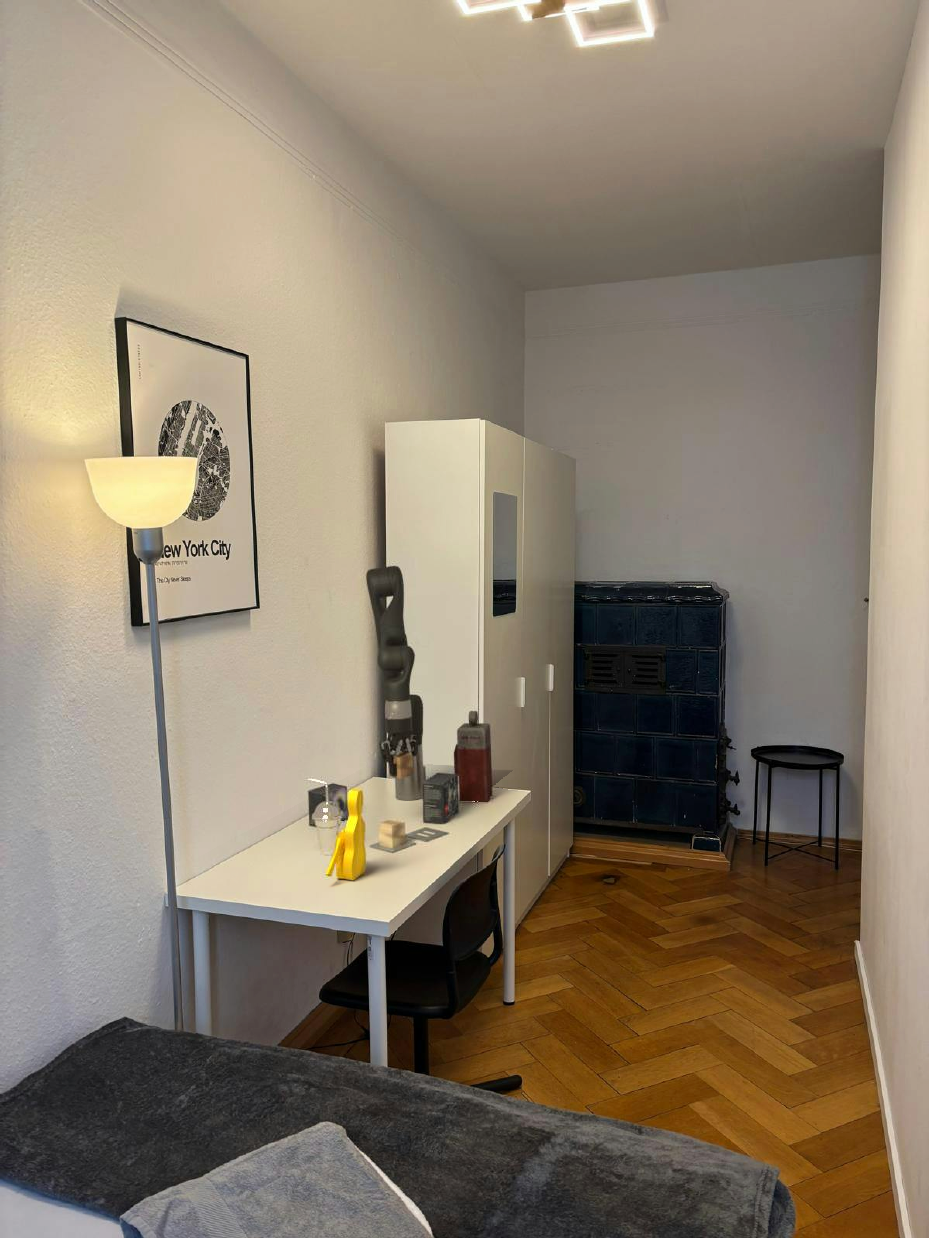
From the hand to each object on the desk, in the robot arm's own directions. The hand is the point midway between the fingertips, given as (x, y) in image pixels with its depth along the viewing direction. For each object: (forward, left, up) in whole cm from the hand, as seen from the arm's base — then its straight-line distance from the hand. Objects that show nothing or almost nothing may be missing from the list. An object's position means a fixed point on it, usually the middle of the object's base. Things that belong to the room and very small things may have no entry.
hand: (400, 773), depth 274 cm
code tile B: (+14, +10, -15) cm, 23 cm away
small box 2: (-13, +3, -16) cm, 21 cm away
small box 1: (+10, -21, -16) cm, 28 cm away
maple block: (+14, +10, -15) cm, 23 cm away
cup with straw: (+28, 0, -16) cm, 32 cm away
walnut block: (0, 0, -1) cm, 1 cm away
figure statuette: (+37, +19, -16) cm, 44 cm away
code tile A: (+2, +11, -15) cm, 19 cm away
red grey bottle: (-34, -3, -16) cm, 38 cm away
